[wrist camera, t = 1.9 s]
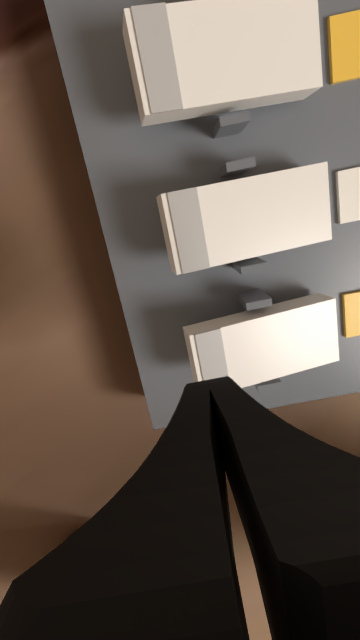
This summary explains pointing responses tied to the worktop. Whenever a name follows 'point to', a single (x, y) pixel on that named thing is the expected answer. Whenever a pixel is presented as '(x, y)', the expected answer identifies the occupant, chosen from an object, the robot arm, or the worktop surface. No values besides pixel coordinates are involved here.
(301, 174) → the rocker
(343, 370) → the switch box
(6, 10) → the worktop surface
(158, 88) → the rocker
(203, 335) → the rocker
